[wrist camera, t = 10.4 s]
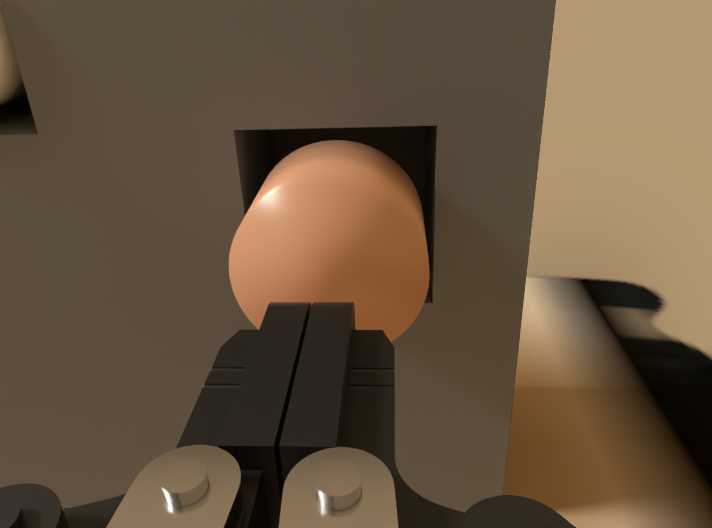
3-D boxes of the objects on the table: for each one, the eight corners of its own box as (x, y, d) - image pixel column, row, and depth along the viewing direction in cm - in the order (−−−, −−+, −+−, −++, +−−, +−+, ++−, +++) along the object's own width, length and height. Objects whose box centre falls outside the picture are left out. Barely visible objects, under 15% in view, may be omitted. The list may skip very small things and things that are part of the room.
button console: (500, 516, 20) (594, -364, 10) (-58, 505, 22) (-454, -289, 12) (474, 385, 27) (519, -245, 17) (42, 383, 28) (-160, -204, 18)
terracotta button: (428, 358, 14) (432, 178, 12) (241, 358, 14) (215, 182, 12) (417, 247, 19) (419, 109, 17) (282, 248, 20) (268, 113, 18)
